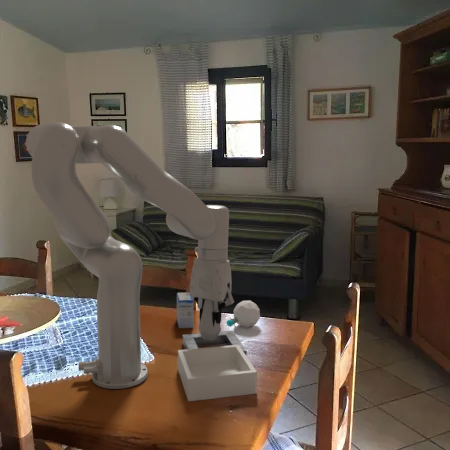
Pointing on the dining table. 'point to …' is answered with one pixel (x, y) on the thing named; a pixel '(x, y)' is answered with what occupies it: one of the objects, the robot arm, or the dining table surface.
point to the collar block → (223, 338)
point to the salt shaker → (208, 322)
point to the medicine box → (184, 310)
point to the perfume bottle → (245, 314)
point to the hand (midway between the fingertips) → (210, 323)
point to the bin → (216, 372)
